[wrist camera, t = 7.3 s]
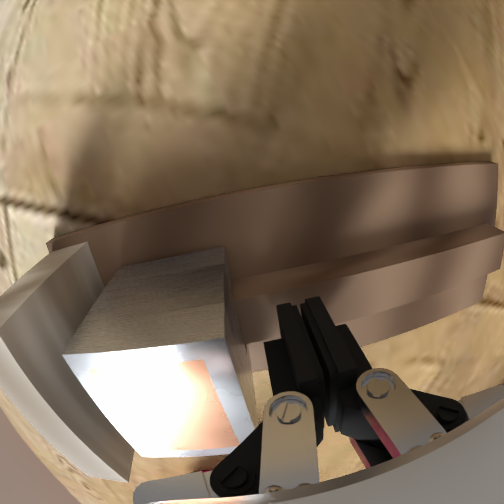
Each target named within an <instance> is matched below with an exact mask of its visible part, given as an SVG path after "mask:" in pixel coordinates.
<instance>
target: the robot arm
mask: <svg viewBox="0 0 504 504" xmlns="http://www.w3.org/2000/svg"><path fill="white" fill-rule="evenodd" d="M276 309H277V315H278V322H279V328H280V335H281V339H276V340H271V341H266V342H263V343H264V349H265V354H266V360H267V365H268V371H269V376H270V381H271V387H272V392H273V397H272V398H271V399H270V400H268V402H267V403H266V405H265V407H264V411H263V421H262V422H261V423H260V424H259V425H258V426H257V427H256V428H255V429H254V431H253V432H252V433H251V434H250V435H249V436H248V437H247V438H246V439H245V440H244V441H243V442H241V443H240V444H239V445H238V446H237V447H236V448H235V449H234V450H233V451H232V452H231V453H230V454H229V455H228V456H227V457H226V458H225V459H224V460H223V461H221V462H220V463H219V464H218V465H217V466H216V467H215V468H214V470H212V471H208V472H204V473H202V471H198V472H194V473H190V474H185V475H180V476H175V477H170V478H165V479H159V480H153V481H147V482H144V483H141V484H140V485H139V486H138V487H136V489H135V491H134V493H133V502H134V504H504V384H501V385H497V386H494V387H492V388H489V389H486V390H483V391H480V392H477V393H474V394H471V395H468V396H464V397H461V399H460V400H459V401H456V400H453V399H450V398H446V397H441V396H437V395H433V394H428V393H424V392H420V391H416V390H413V389H409V388H408V387H407V385H406V384H405V383H404V382H403V381H402V380H401V379H400V378H399V376H398V375H397V374H395V373H394V372H393V371H391V370H388V369H384V368H374V369H372V367H371V366H370V364H369V362H368V360H367V358H366V357H365V355H364V353H363V351H362V350H361V348H360V346H359V345H358V343H357V341H356V339H355V338H354V336H353V334H352V333H351V331H350V329H349V327H348V326H347V325H346V324H342V325H338V326H335V324H334V322H333V320H332V318H331V316H330V315H329V313H328V311H327V309H326V307H325V305H324V304H323V302H322V300H321V298H320V297H319V296H317V297H312V298H307V299H305V303H302V304H300V309H301V315H300V312H299V310H298V307H297V305H293V306H292V305H291V303H290V302H289V303H284V304H279V305H276ZM324 416H325V419H326V422H327V425H328V426H332V425H333V427H334V430H335V432H338V431H340V432H341V434H343V435H345V436H348V437H349V439H350V442H351V444H352V446H353V447H354V449H355V451H356V452H357V454H358V456H359V457H360V459H361V461H362V462H363V464H364V466H365V467H366V469H364V470H361V471H358V472H355V473H352V474H348V475H345V476H342V477H338V478H335V479H331V480H327V481H324V482H320V483H319V470H318V457H317V446H318V445H319V444H320V442H321V441H322V440H323V428H324Z"/></svg>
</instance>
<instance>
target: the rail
mask: <svg viewBox="0 0 504 504" xmlns="http://www.w3.org/2000/svg"><path fill="white" fill-rule="evenodd" d="M497 190H498V163H494V162H490V161H488V162H464V163H447V164H433V165H420V166H409V167H399V168H389V169H380V170H371V171H363V172H355V173H347V174H340V175H332V176H325V177H319V178H312V179H306V180H299V181H293V182H287V183H281V184H275V185H270V186H264V187H258V188H253V189H248V190H243V191H237V192H232V193H227V194H222V195H218V196H213V197H208V198H203V199H199V200H194V201H190V202H185V203H181V204H177V205H172V206H168V207H164V208H160V209H155V210H151V211H147V212H143V213H139V214H136V215H132V216H128V217H124V218H120V219H117V220H113V221H109V222H106V223H102V224H98V225H95V226H91V227H88V228H84V229H81V230H78V231H74V232H71V233H68V234H64V235H61V236H58V237H55V238H53V239H51V240H50V241H48V242H47V243H46V245H47V248H48V250H49V254H48V255H47V256H46V257H45V258H43V259H42V260H41V261H40V262H38V263H37V264H36V265H35V266H34V267H32V268H31V269H30V270H29V271H28V272H27V273H26V274H24V275H23V276H22V277H21V278H20V279H19V280H18V281H16V282H15V283H14V284H13V285H12V286H11V287H10V288H9V289H8V290H7V291H6V292H4V293H3V294H2V295H1V296H0V388H1V389H2V391H3V392H4V393H5V395H6V396H7V397H8V398H9V400H10V401H11V402H12V403H13V404H14V406H15V407H16V408H17V409H18V410H19V411H20V413H21V414H22V415H23V416H24V417H25V418H26V419H27V420H28V421H29V423H30V424H31V425H32V426H33V427H34V428H35V429H36V430H37V431H38V432H39V433H40V434H41V435H42V436H43V437H44V438H45V439H46V440H47V441H48V442H49V443H50V444H51V445H52V446H53V447H54V448H55V449H57V450H58V451H59V452H60V453H61V454H62V455H63V456H64V457H66V458H67V459H68V460H69V461H70V462H71V463H72V464H74V465H75V466H76V467H77V468H79V469H80V470H81V471H82V472H84V473H85V474H86V475H87V476H89V477H95V478H101V479H107V480H113V481H121V482H129V478H130V472H131V466H132V460H133V455H134V450H135V448H134V447H133V446H132V445H131V444H130V443H129V442H128V441H127V440H126V439H125V438H124V437H123V435H122V434H121V433H120V432H119V431H118V430H117V429H116V428H115V426H114V425H113V424H112V423H111V422H110V421H109V419H108V418H107V417H106V416H105V414H104V413H103V412H102V411H101V409H100V408H99V407H98V406H97V404H96V403H95V402H94V401H93V399H92V398H91V397H90V395H89V394H88V393H87V391H86V390H85V388H84V387H83V386H82V384H81V383H80V381H79V380H78V379H77V377H76V376H75V374H74V373H73V371H72V370H71V368H70V367H69V365H68V364H67V362H66V360H65V359H64V357H63V356H62V354H63V352H64V350H65V349H66V347H67V345H68V344H69V342H70V340H71V339H72V337H73V336H74V334H75V332H76V331H77V329H78V328H79V326H80V324H81V323H82V321H83V320H84V318H85V317H86V315H87V314H88V312H89V311H90V309H91V308H92V306H93V305H94V303H95V302H96V300H97V299H98V297H99V296H100V294H101V293H102V291H103V290H104V289H105V287H106V286H107V284H108V283H109V281H110V280H111V279H112V277H113V276H114V274H115V273H116V272H117V270H118V269H119V268H120V267H125V266H130V265H135V264H140V263H144V262H149V261H154V260H159V259H164V258H169V257H173V256H178V255H183V254H188V253H193V252H198V251H203V250H208V249H213V248H218V247H223V246H224V247H225V251H226V256H227V260H228V264H229V269H230V273H231V294H232V298H233V302H234V306H235V310H236V314H237V318H238V322H239V326H240V330H241V334H242V337H243V341H244V344H248V347H249V351H250V359H251V367H252V372H257V371H263V370H268V365H267V360H266V354H265V349H264V343H263V342H266V341H271V340H276V339H281V335H280V328H279V322H278V315H277V309H276V305H279V304H284V303H289V302H290V303H291V305H292V306H293V305H297V307H298V310H299V312H300V315H301V309H300V304H302V303H305V299H307V298H312V297H317V296H319V297H320V298H321V300H322V302H323V304H324V305H325V307H326V309H327V311H328V313H329V315H330V316H331V318H332V320H333V322H334V324H335V326H338V325H342V324H346V325H347V326H348V327H349V329H350V331H351V333H352V334H353V336H354V338H355V339H356V341H357V343H358V345H359V346H360V347H362V346H365V345H368V344H372V343H375V342H378V341H381V340H384V339H387V338H390V337H393V336H396V335H399V334H402V333H405V332H407V331H410V330H413V329H416V328H418V327H421V326H424V325H426V324H429V323H432V322H434V321H437V320H439V319H442V318H444V317H446V316H449V315H451V314H454V313H456V312H458V311H461V310H463V309H465V308H467V307H470V306H472V305H474V304H476V303H478V302H480V301H481V300H482V296H483V292H484V288H485V283H486V279H487V274H489V273H491V272H493V271H496V270H498V269H500V266H501V261H502V256H503V250H504V231H502V230H500V229H498V228H496V227H495V220H496V208H497Z"/></svg>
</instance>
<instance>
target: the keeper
mask: <svg viewBox="0 0 504 504" xmlns="http://www.w3.org/2000/svg"><path fill="white" fill-rule="evenodd" d="M62 356H63V357H64V359H65V360H66V362H67V364H68V365H69V367H70V368H71V370H72V371H73V373H74V374H75V376H76V377H77V379H78V380H79V381H80V383H81V384H82V386H83V387H84V388H85V390H86V391H87V393H88V394H89V395H90V397H91V398H92V399H93V401H94V402H95V403H96V404H97V406H98V407H99V408H100V409H101V411H102V412H103V413H104V414H105V416H106V417H107V418H108V419H109V421H110V422H111V423H112V424H113V425H114V426H115V428H116V429H117V430H118V431H119V432H120V433H121V434H122V435H123V437H124V438H125V439H126V440H127V441H128V442H129V443H130V444H131V445H132V446H133V447H134V448H135V449H136V451H137V452H138V453H139V454H140V455H141V456H142V457H196V456H212V455H224V454H230V453H231V452H232V451H233V450H234V449H235V448H236V447H237V446H238V445H239V444H240V443H241V442H243V441H244V440H245V439H246V438H247V437H248V436H249V435H250V434H251V433H252V432H253V431H254V429H255V428H256V427H257V426H258V425H259V423H258V415H257V407H256V399H255V391H254V384H253V375H252V367H251V359H250V351H249V347H248V344H244V341H243V337H242V334H241V330H240V326H239V322H238V318H237V314H236V310H235V306H234V302H233V298H232V294H231V273H230V269H229V264H228V260H227V256H226V251H225V247H224V246H223V247H218V248H213V249H208V250H203V251H198V252H193V253H188V254H183V255H178V256H173V257H169V258H164V259H159V260H154V261H149V262H144V263H140V264H135V265H130V266H125V267H120V268H119V269H118V270H117V272H116V273H115V274H114V276H113V277H112V279H111V280H110V281H109V283H108V284H107V286H106V287H105V289H104V290H103V291H102V293H101V294H100V296H99V297H98V299H97V300H96V302H95V303H94V305H93V306H92V308H91V309H90V311H89V312H88V314H87V315H86V317H85V318H84V320H83V321H82V323H81V324H80V326H79V328H78V329H77V331H76V332H75V334H74V336H73V337H72V339H71V340H70V342H69V344H68V345H67V347H66V349H65V350H64V352H63V354H62Z"/></svg>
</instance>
